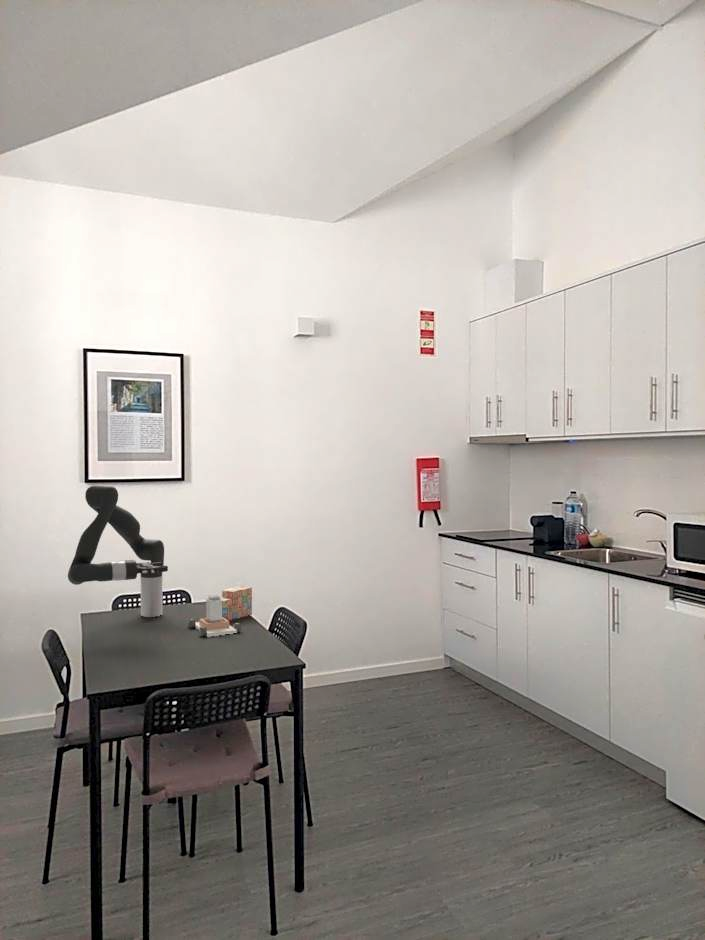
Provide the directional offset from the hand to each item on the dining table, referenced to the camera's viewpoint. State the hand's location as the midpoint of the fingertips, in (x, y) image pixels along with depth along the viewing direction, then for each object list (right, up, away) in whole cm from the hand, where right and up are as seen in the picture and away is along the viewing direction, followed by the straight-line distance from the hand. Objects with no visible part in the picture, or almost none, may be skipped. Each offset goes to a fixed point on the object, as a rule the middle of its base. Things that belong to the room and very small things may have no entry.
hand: (164, 566), depth 297 cm
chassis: (+19, -26, +4) cm, 32 cm away
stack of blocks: (+22, -26, +24) cm, 42 cm away
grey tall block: (+19, -24, +4) cm, 31 cm away
